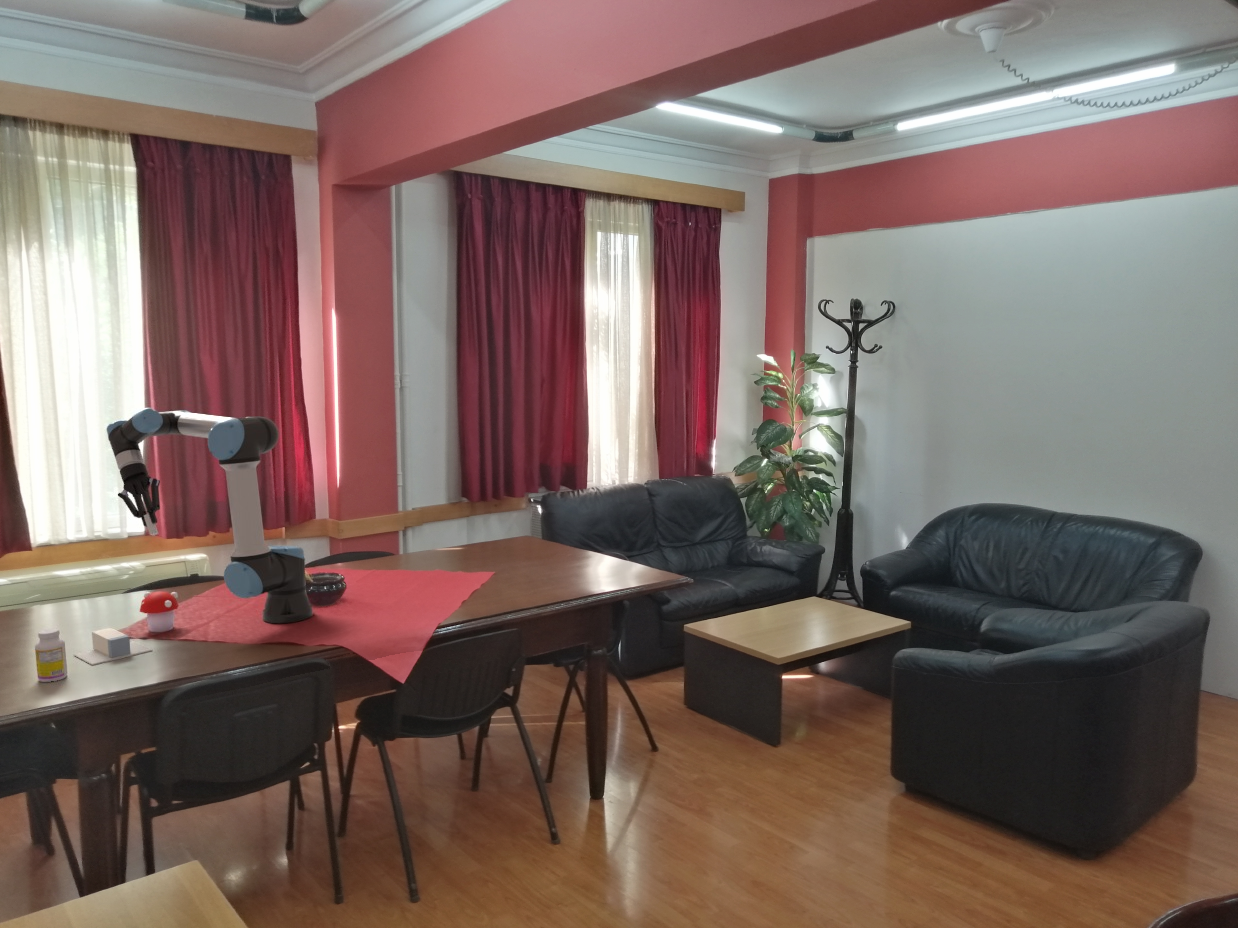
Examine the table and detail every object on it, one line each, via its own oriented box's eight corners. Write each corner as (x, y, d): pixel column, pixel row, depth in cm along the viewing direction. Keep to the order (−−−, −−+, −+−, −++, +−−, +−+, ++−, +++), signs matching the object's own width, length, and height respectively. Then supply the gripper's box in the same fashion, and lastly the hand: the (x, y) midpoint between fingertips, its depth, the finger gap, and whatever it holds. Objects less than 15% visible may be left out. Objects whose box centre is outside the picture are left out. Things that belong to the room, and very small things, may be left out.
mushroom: (188, 625, 288) (186, 588, 287) (160, 635, 278) (158, 597, 276) (161, 622, 292) (159, 585, 290) (133, 632, 281) (130, 594, 280)
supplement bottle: (46, 674, 245) (42, 627, 244) (72, 673, 246) (68, 626, 244) (32, 683, 238) (28, 635, 237) (59, 682, 239) (55, 634, 237)
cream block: (111, 644, 269) (130, 653, 261) (93, 648, 265) (111, 657, 257) (110, 627, 268) (129, 636, 260) (91, 631, 265) (110, 640, 256)
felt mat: (152, 650, 264) (152, 649, 264) (92, 665, 252) (91, 663, 252) (133, 641, 272) (133, 640, 272) (73, 655, 260) (73, 654, 260)
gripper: (157, 461, 299) (179, 527, 294) (118, 477, 298) (140, 544, 293) (145, 456, 292) (168, 523, 287) (105, 472, 291) (127, 540, 286)
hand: (154, 533), depth 290 cm, fingers closed
